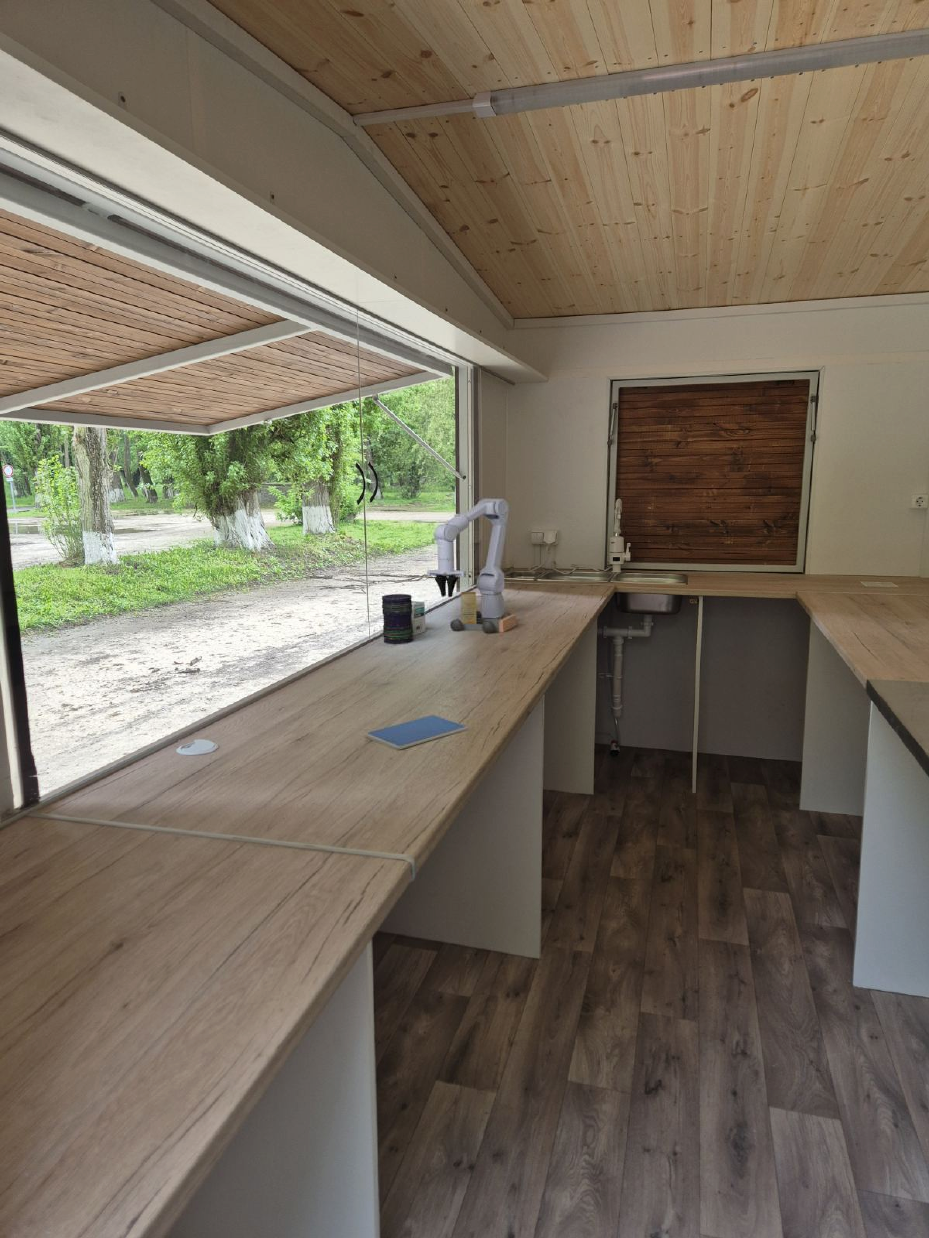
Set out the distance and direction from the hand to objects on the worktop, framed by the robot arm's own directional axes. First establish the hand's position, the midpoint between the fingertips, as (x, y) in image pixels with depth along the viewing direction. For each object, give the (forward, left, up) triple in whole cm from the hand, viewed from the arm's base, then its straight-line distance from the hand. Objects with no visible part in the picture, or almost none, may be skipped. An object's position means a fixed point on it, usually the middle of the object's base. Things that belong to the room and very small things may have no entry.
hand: (447, 596), depth 293 cm
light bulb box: (+16, -7, -11) cm, 21 cm away
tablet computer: (+111, +47, -11) cm, 121 cm away
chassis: (0, +15, -10) cm, 18 cm away
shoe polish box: (0, +9, -11) cm, 14 cm away
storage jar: (+30, -3, -11) cm, 32 cm away
